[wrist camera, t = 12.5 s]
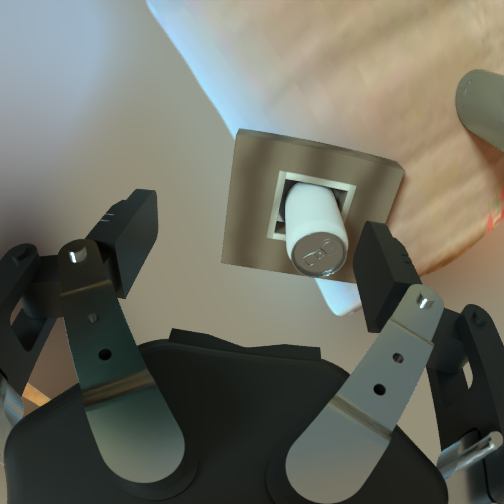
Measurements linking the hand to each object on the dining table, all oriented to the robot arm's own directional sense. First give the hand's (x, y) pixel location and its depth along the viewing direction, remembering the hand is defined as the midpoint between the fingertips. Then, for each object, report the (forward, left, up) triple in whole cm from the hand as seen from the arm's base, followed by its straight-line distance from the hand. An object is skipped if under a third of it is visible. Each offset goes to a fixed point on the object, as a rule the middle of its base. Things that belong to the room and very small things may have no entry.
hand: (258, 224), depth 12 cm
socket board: (-7, +11, -27) cm, 30 cm away
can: (-7, +11, -27) cm, 30 cm away
